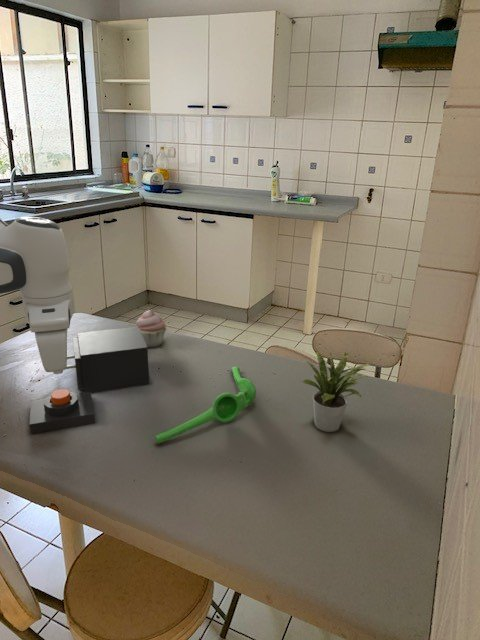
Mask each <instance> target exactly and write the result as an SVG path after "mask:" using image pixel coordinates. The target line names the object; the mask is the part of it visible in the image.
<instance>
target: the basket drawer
mask: <svg viewBox="0 0 480 640" xmlns="http://www.w3.org/2000/svg"><path fill="white" fill-rule="evenodd" d="M72 347H73V354H71V355H67V360H71V359H74V364H67V367H66V369H65V370H69V369H75V372H76V373H75V374H76V382H77V389H78V391H80V390H84V386H83V376H82V367H81V358H80V350H79V343H78V337H72Z"/></svg>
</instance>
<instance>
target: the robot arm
mask: <svg viewBox="0 0 480 640" xmlns="http://www.w3.org/2000/svg"><path fill="white" fill-rule="evenodd" d="M70 267H71V264H70V256H69V251H68V245H67V241H66V237H65V234H64V232H63V229H62V228H61V226H60V225H59V224H57V222H55V221H53V220H50V219H47V218H45V217H38V216H22V217H18V218H16V219H14V220H13V222H11V223H10V224H9V223H7V222H5V221H4V220H3V219H2V218H1V217H0V295H2V294H6V293H11V292H15V291H20V295H21V300H22V307H23V311H24V312H23V313H24V318H25V319H26V320H27V322H28V326H29V329H30V332H31V333H34V336H35V341H36V345H37V350H38V353H39V357H40V360H41V364H42V367H43V369H44V371H45V372H46V373H53V374H54V375H60V374H63V372H64V371H65V370H67V369H66V367H67V365H68V359H67V356H68V330H69V329H70V327H71V320H72V318H73V316H74V314H75V312H76V308H75V300H74V292H73V291H74V290H73V285H72V282H71V280H70V275H69V274H70Z"/></svg>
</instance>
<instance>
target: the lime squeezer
mask: <svg viewBox="0 0 480 640" xmlns="http://www.w3.org/2000/svg"><path fill="white" fill-rule="evenodd" d="M231 371H232V375H233V379H234V382H235V384H236V386H237V388H238V389H239V392H238V393H237V394H233V393H231V392H223V393H221V394H219V395H218V396H217V397H215V399H214V400H213V403H212V405H211V407H210V408H209V409H208V410H206V411H203V412H202V413H201V414H199V415H197V416H195V417H193V418H192V419H189V420H187V421H186V422H184V423H182V424H180V425H177V426H174V427H173V428H170V429H167V430H166V431H163V432H161V433H157V434H156V435H154V438H155V441H156V443H157V444H162V443H163V442H166V441H168V440H170V439H173V438H176V437H177V436H180V435H182V434H184V433H186V432H188V431H191V430H193V429H195V428H198V427H200V426H202V425H204V424H206V423H208V422H211V421H214V420H216V421H218V422H220V423H224V424H225V423H229V422H232V421H233V420H234V419H236V418H237V416H238V415H239V413H240V412H241V411H242V410H244V409H246V408H248V406H249V405H251V404H252V403H253V402H254V401H255V399H256V396H257V389H256V386H255V384H254V383H253V381H251V380H250V379H248V378H244V377H243V378H242V376H241V374H240V371H241V370H240V367H239V366H232V367H231Z"/></svg>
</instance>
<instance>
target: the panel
mask: <svg viewBox="0 0 480 640" xmlns="http://www.w3.org/2000/svg"><path fill="white" fill-rule="evenodd" d="M69 392H70V402H68V403H66V404H64V405H53V404H52V401H51V394H49V395H47V396H46V397H45V398H40V399H33V400H30V409H29V424H28V425H29V431H30V434H31V435H32V434H39V433H44V432H51V431H55V430H56V431H57V430H61V429H62V430H63V429H66V428H67V429H68V428H73V427H74V428H75V427H79V426H86V425H90V424H95V423H96V420H95V419H96V418H95V417H96V416H95V411H94V403H93V397H92V393H91V392H85V393H84V392H79V393H75V392H74V391H69Z"/></svg>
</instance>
